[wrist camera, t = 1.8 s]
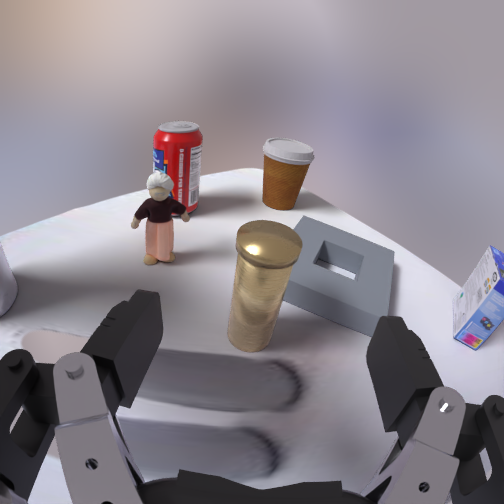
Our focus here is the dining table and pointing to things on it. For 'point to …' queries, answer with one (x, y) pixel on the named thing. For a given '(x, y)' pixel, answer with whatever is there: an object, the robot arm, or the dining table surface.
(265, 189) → the disposable coffee cup
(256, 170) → the dining table surface
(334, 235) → the jig plate
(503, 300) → the ink cartridge box
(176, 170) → the soda can
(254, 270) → the brass sleeve
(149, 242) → the grandmother figurine
